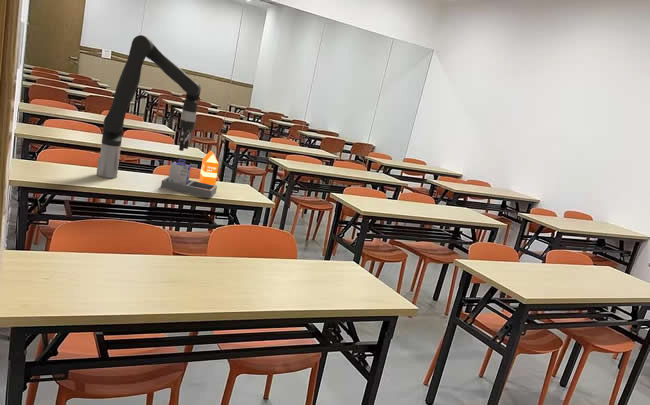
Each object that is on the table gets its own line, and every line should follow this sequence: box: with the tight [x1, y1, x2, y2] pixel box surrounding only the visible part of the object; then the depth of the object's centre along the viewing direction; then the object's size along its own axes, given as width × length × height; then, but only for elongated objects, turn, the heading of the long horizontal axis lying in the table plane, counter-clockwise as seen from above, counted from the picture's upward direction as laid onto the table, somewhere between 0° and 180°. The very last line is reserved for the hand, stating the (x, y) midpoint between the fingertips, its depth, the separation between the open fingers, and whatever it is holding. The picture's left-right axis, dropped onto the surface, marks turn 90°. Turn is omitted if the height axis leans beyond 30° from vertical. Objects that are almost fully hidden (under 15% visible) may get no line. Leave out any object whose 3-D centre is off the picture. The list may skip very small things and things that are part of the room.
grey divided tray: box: [160, 176, 218, 199], centre depth 265 cm, size 27×14×4 cm, turn 91°
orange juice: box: [198, 150, 219, 185], centre depth 283 cm, size 8×9×20 cm
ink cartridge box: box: [168, 158, 192, 185], centre depth 264 cm, size 10×6×14 cm, turn 91°
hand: (183, 149), depth 261 cm, fingers open, 8 cm apart
